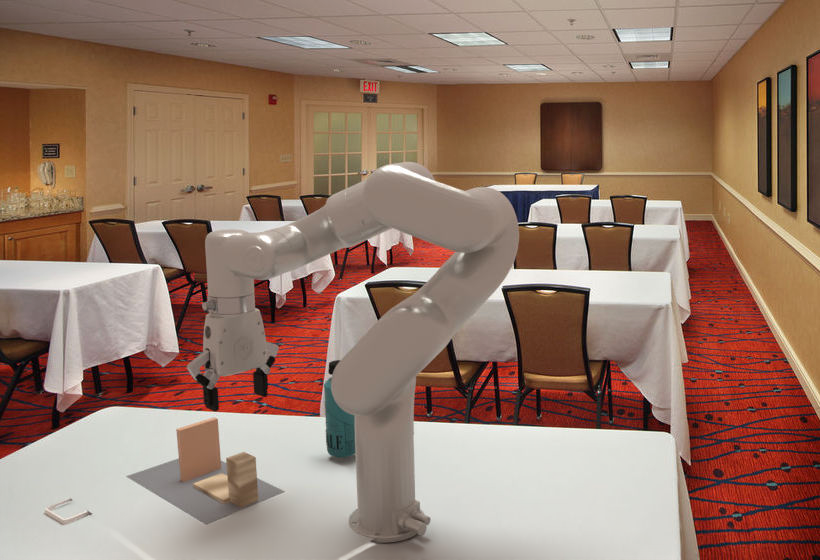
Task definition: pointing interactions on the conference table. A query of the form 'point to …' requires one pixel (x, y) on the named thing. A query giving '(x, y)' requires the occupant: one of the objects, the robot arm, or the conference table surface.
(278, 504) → the conference table surface
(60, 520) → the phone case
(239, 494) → the stepped wooden block
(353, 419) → the beverage bottle
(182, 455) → the tile
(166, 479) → the slate board
